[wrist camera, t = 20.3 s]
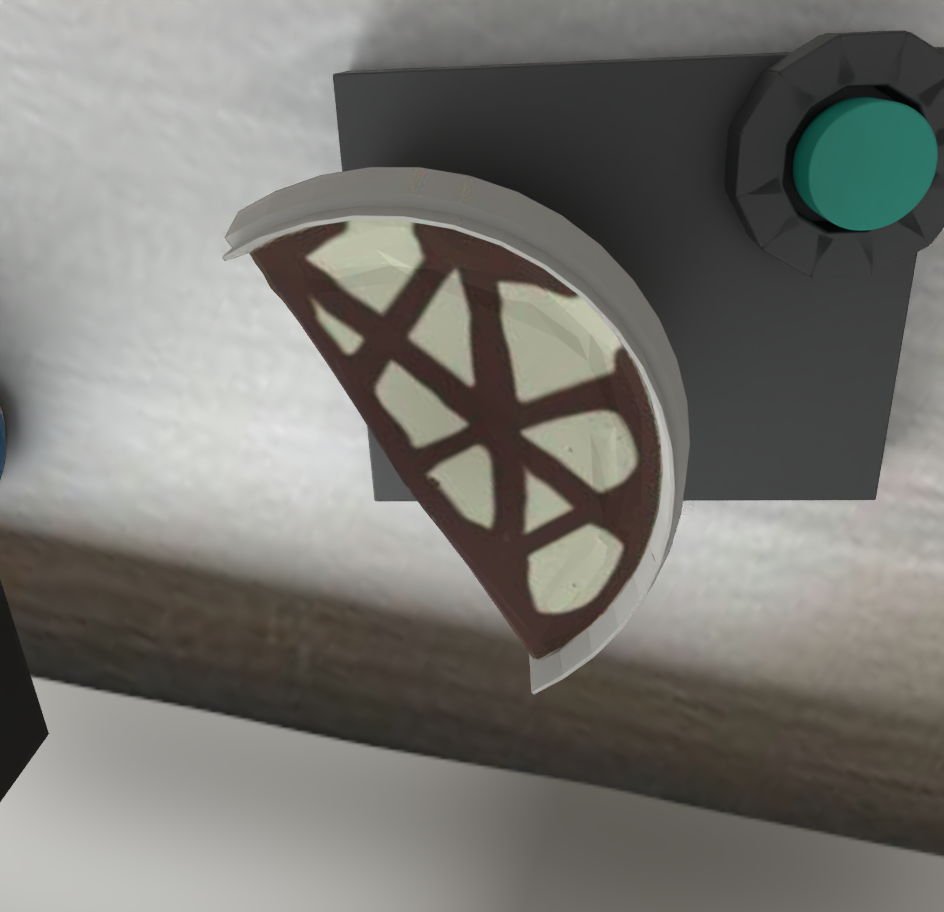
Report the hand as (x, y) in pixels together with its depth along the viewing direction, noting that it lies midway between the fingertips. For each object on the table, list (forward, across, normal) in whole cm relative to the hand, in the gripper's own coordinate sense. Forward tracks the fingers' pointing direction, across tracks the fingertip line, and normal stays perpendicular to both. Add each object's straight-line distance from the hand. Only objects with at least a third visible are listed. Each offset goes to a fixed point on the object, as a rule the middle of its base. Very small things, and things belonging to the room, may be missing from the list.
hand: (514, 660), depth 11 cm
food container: (+17, 0, 0) cm, 17 cm away
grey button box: (+19, +3, 0) cm, 19 cm away
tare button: (+16, +8, +4) cm, 18 cm away
